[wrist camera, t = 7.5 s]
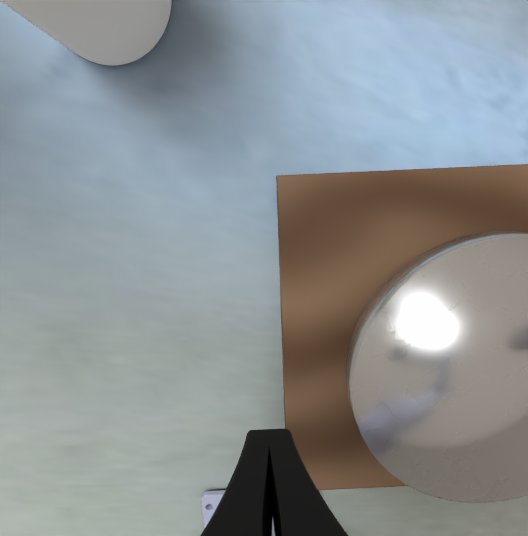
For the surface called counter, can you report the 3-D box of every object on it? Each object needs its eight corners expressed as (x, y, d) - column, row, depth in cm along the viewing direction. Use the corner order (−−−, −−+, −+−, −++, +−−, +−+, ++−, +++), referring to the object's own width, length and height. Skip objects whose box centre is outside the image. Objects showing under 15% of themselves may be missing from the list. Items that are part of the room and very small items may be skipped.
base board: (573, 459, 24) (686, 558, 18) (286, 472, 24) (296, 576, 18) (633, 159, 19) (817, 147, 13) (276, 176, 19) (284, 172, 13)
